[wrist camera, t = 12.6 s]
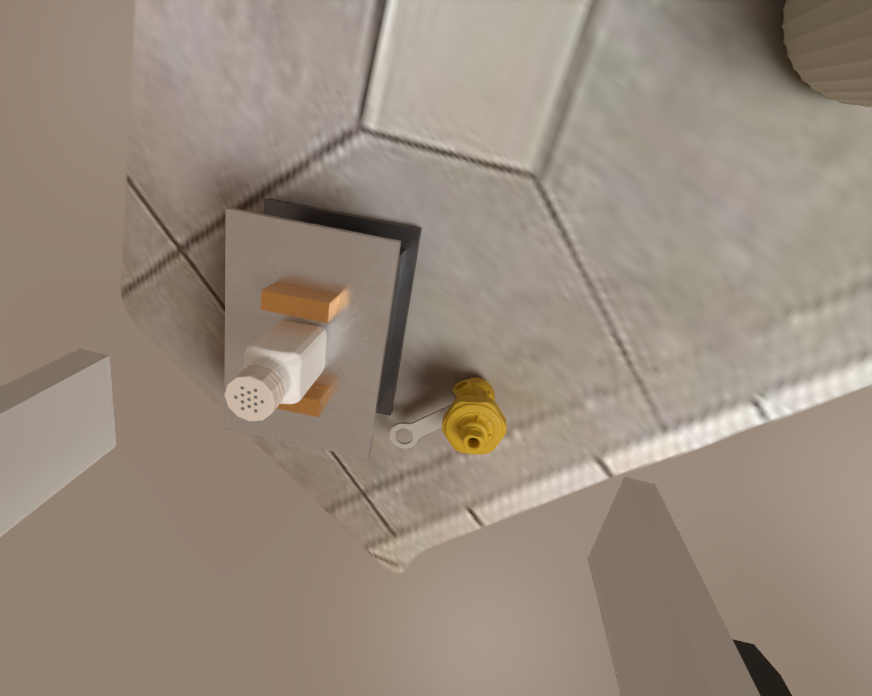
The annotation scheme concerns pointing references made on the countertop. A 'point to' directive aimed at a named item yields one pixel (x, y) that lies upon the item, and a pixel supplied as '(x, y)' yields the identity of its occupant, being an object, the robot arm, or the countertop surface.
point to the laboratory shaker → (321, 314)
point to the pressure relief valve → (463, 420)
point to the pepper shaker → (277, 369)
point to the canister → (831, 47)
